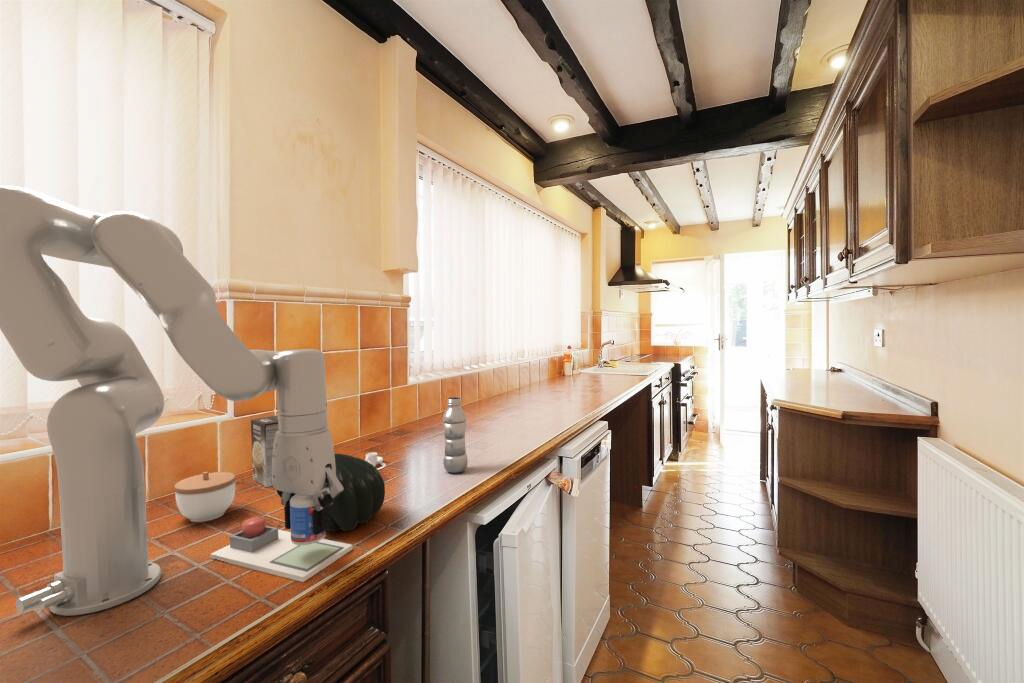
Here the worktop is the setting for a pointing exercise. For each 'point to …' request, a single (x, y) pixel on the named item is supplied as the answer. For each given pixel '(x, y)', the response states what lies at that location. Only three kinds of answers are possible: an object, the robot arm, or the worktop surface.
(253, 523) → the button
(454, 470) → the plastic bottle
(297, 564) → the white flat board
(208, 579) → the worktop surface
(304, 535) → the pill bottle
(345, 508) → the squash
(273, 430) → the coffee box
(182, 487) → the lidded jar
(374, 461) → the teacup and saucer
